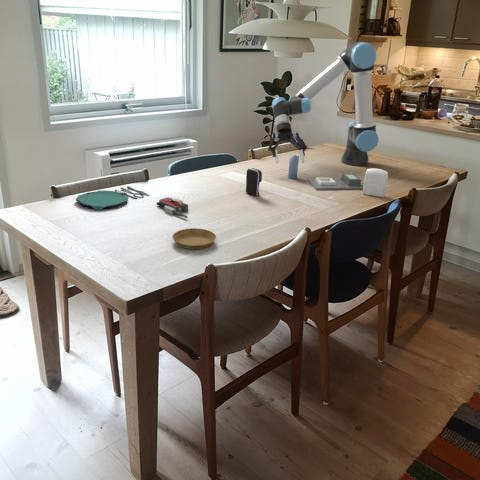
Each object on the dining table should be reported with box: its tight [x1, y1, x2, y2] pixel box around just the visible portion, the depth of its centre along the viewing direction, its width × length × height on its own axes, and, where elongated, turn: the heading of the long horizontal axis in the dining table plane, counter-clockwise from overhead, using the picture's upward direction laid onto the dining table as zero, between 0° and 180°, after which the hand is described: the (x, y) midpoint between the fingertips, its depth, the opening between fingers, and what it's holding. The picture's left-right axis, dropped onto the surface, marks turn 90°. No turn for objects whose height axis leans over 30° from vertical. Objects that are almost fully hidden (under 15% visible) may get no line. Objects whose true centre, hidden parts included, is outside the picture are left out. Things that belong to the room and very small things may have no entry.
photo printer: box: [362, 167, 389, 198], centre depth 226 cm, size 10×4×12 cm, turn 63°
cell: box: [287, 154, 300, 180], centre depth 246 cm, size 4×4×12 cm
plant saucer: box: [172, 227, 217, 250], centre depth 169 cm, size 15×15×3 cm
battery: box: [245, 167, 263, 197], centre depth 219 cm, size 7×4×11 cm, turn 42°
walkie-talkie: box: [156, 196, 189, 219], centre depth 196 cm, size 9×4×20 cm
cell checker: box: [306, 173, 364, 191], centre depth 240 cm, size 24×16×4 cm, turn 100°
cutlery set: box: [75, 185, 150, 212], centre depth 206 cm, size 20×30×2 cm, turn 140°
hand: (290, 162), depth 247 cm, fingers open, 13 cm apart
